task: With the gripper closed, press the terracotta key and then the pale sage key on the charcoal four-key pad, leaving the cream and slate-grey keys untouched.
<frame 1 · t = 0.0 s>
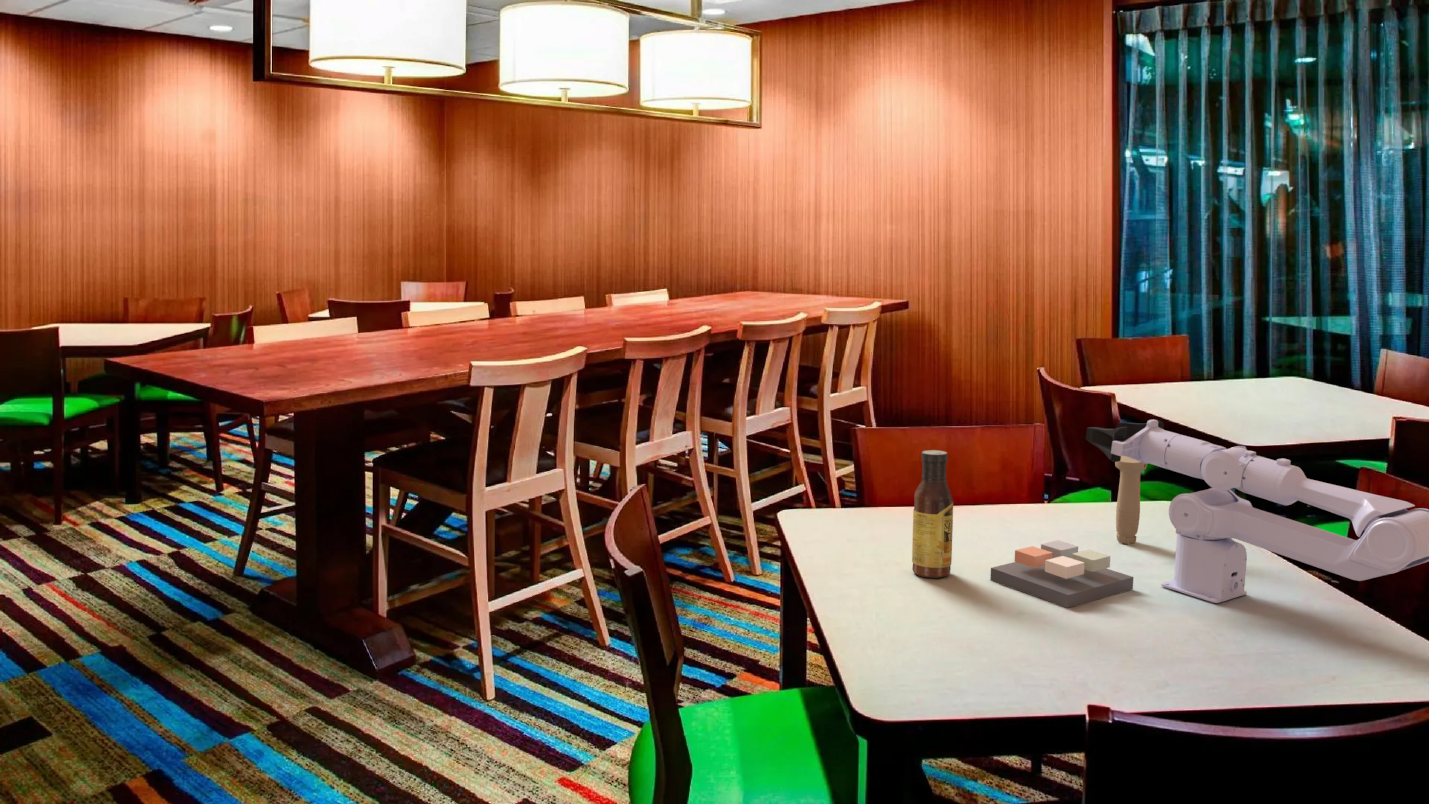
hand: (1102, 431, 177), 22 cm above the table, tool horizontal, fingers open, 7 cm apart
keypad base: (1060, 584, 167), on the table
key terracotta: (1033, 556, 167), point 4 cm above the table, slide at 0.0 cm
key cream: (1064, 567, 162), point 4 cm above the table, slide at 0.0 cm
sauce bottle: (931, 574, 173), on the table
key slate: (1059, 550, 170), point 4 cm above the table, slide at 0.0 cm
handle: (1126, 543, 189), on the table
key sage: (1090, 560, 165), point 4 cm above the table, slide at 0.0 cm
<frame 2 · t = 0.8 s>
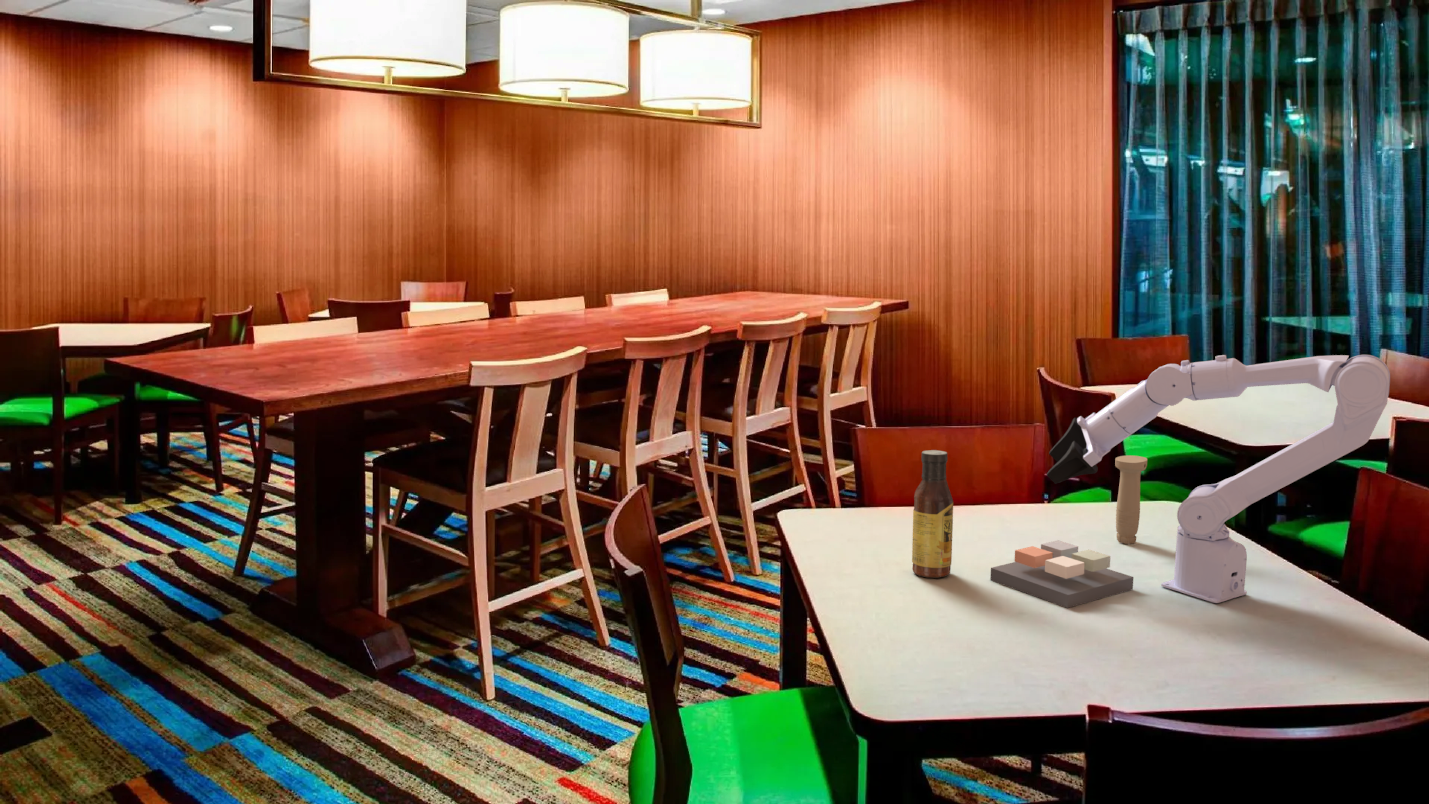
hand: (1052, 467, 175), 16 cm above the table, tool tilted 50°, fingers open, 7 cm apart
nothing on the table moved.
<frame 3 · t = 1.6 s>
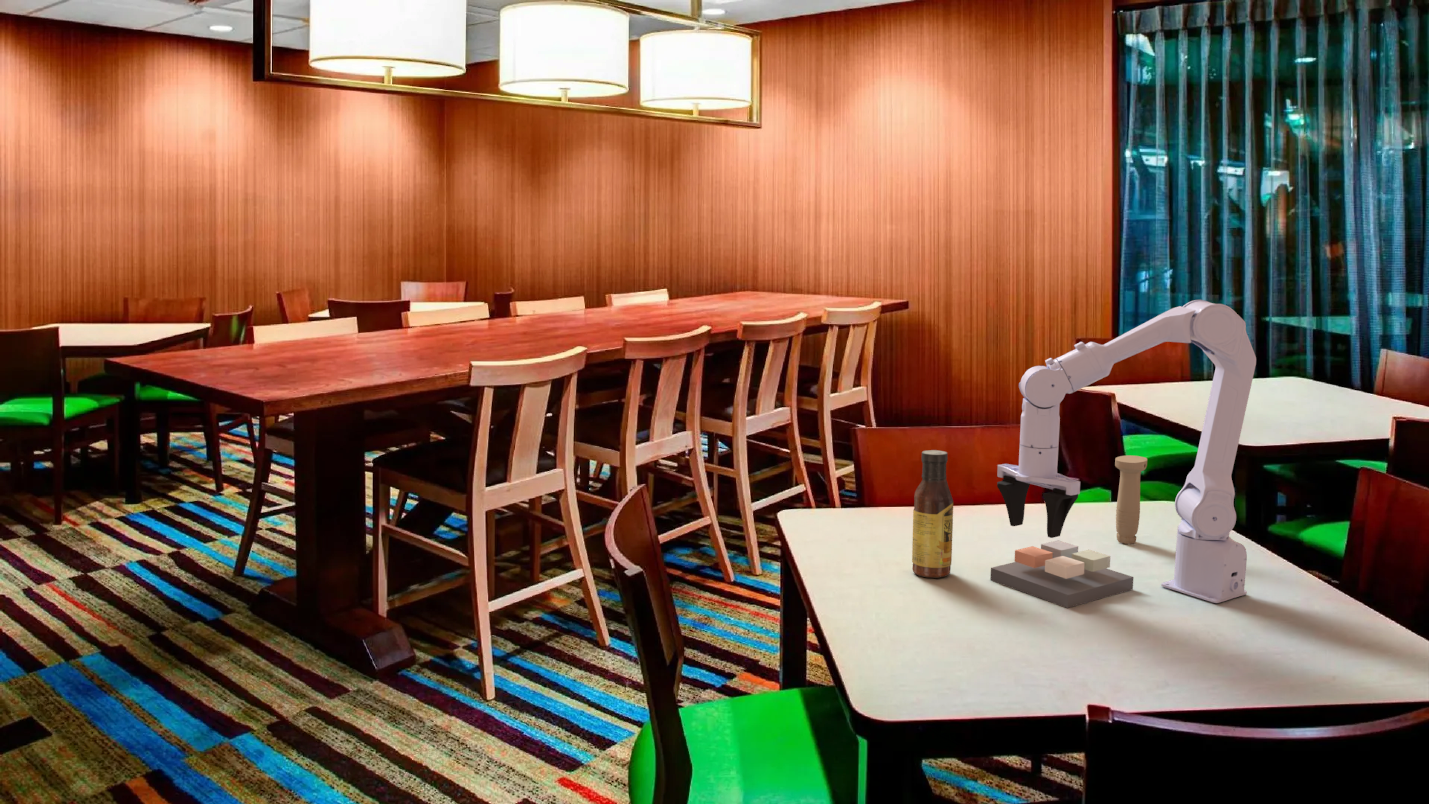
hand: (1034, 530, 167), 8 cm above the table, tool pointing down, fingers open, 7 cm apart
nothing on the table moved.
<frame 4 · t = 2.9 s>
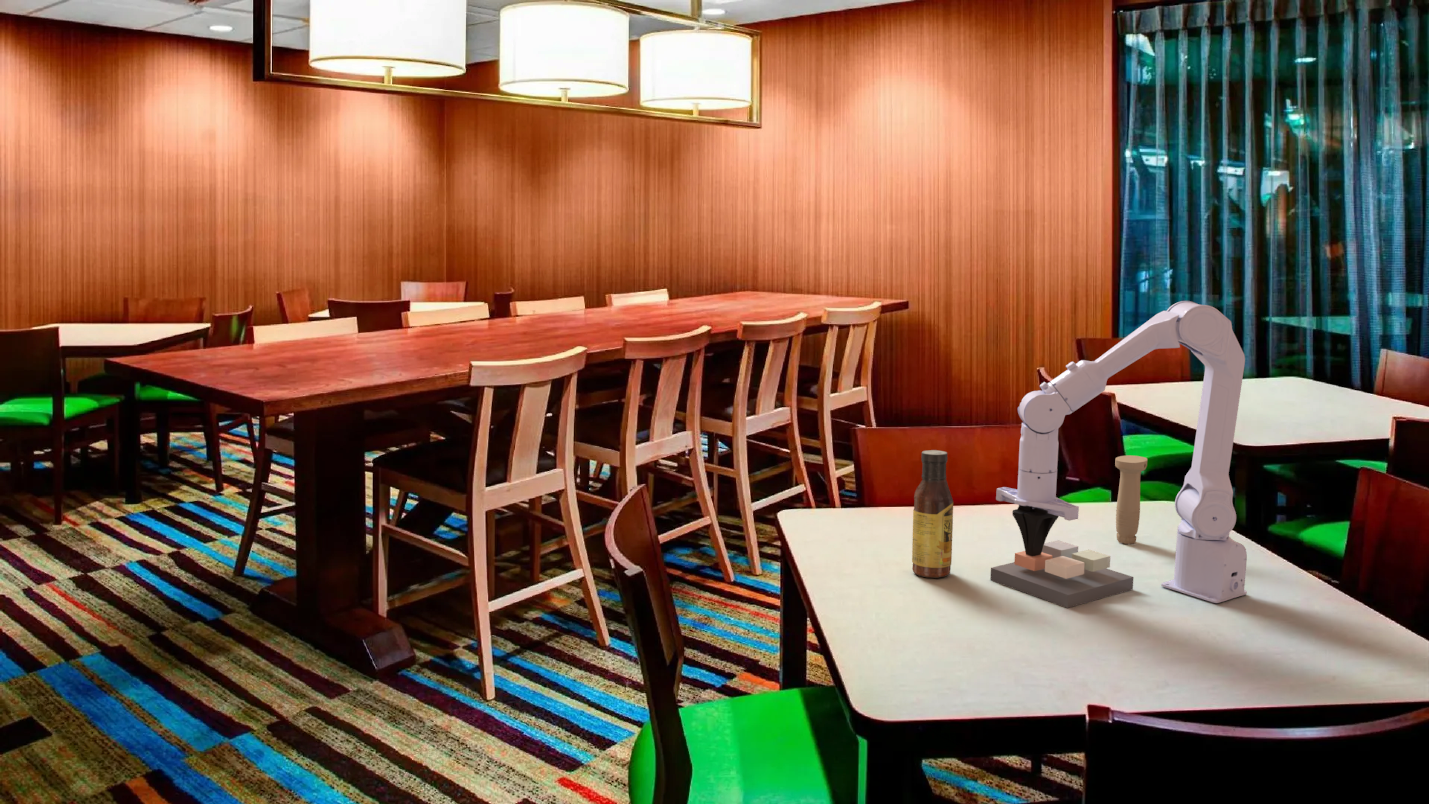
hand: (1033, 554, 167), 5 cm above the table, tool pointing down, fingers closed, pressing on key terracotta
key terracotta: (1033, 559, 167), point 4 cm above the table, slide at 0.5 cm, touching gripper
everything else where it was.
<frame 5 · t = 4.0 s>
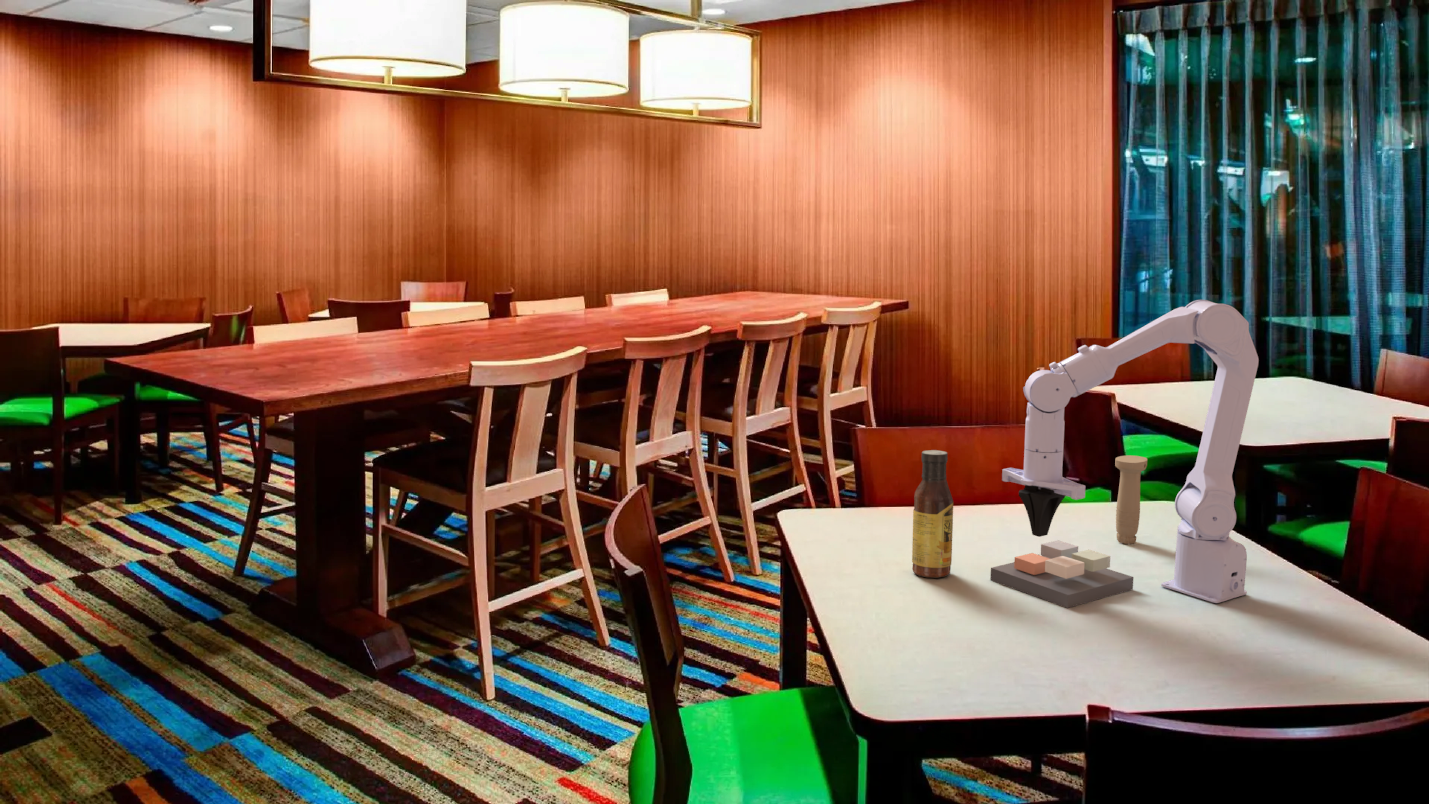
hand: (1039, 534, 167), 8 cm above the table, tool pointing down, fingers closed
key terracotta: (1033, 563, 167), point 3 cm above the table, slide at 1.1 cm
everything else where it was.
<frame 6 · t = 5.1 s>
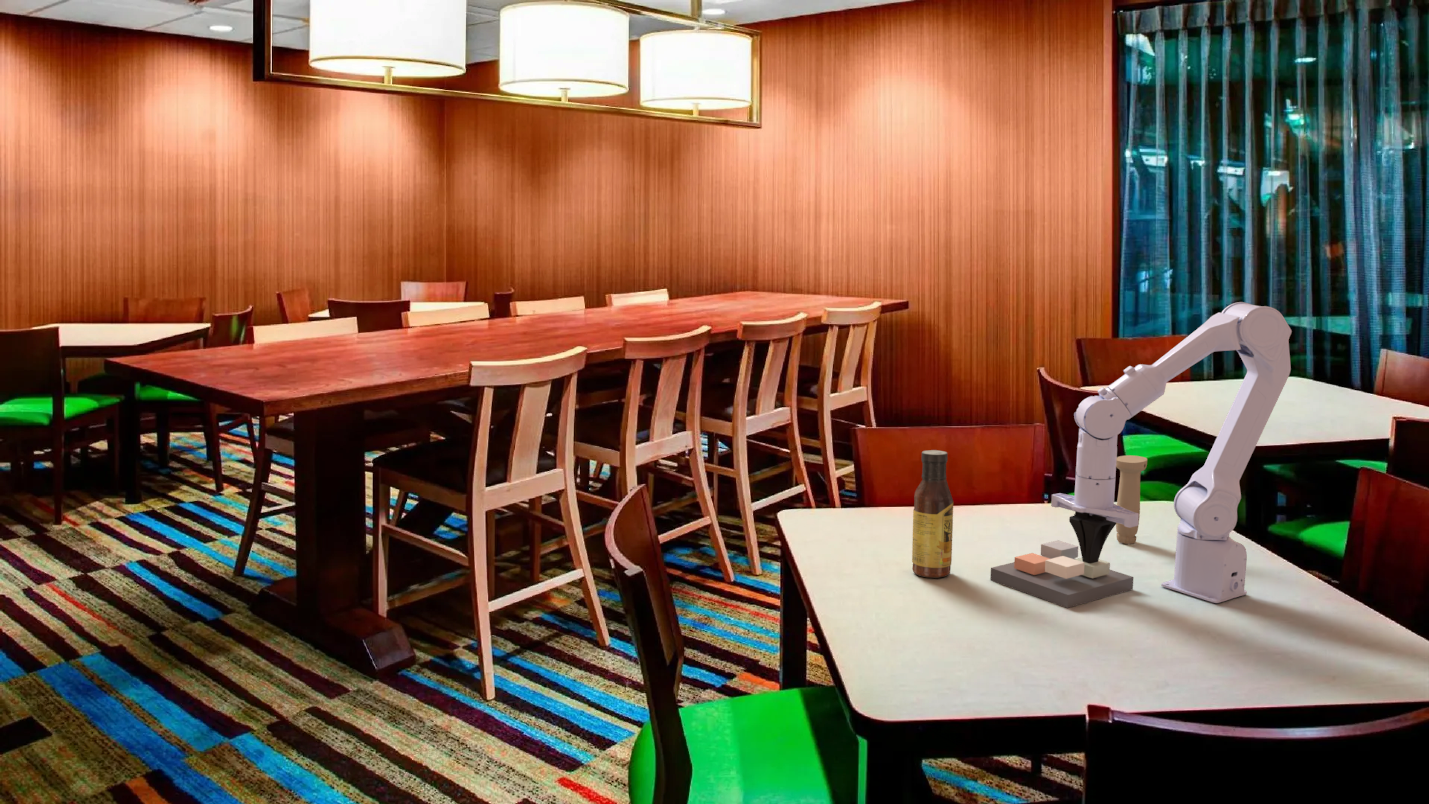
hand: (1090, 561, 166), 4 cm above the table, tool pointing down, fingers closed, pressing on key sage
key sage: (1090, 567, 166), point 3 cm above the table, slide at 1.0 cm, touching gripper
everything else where it was.
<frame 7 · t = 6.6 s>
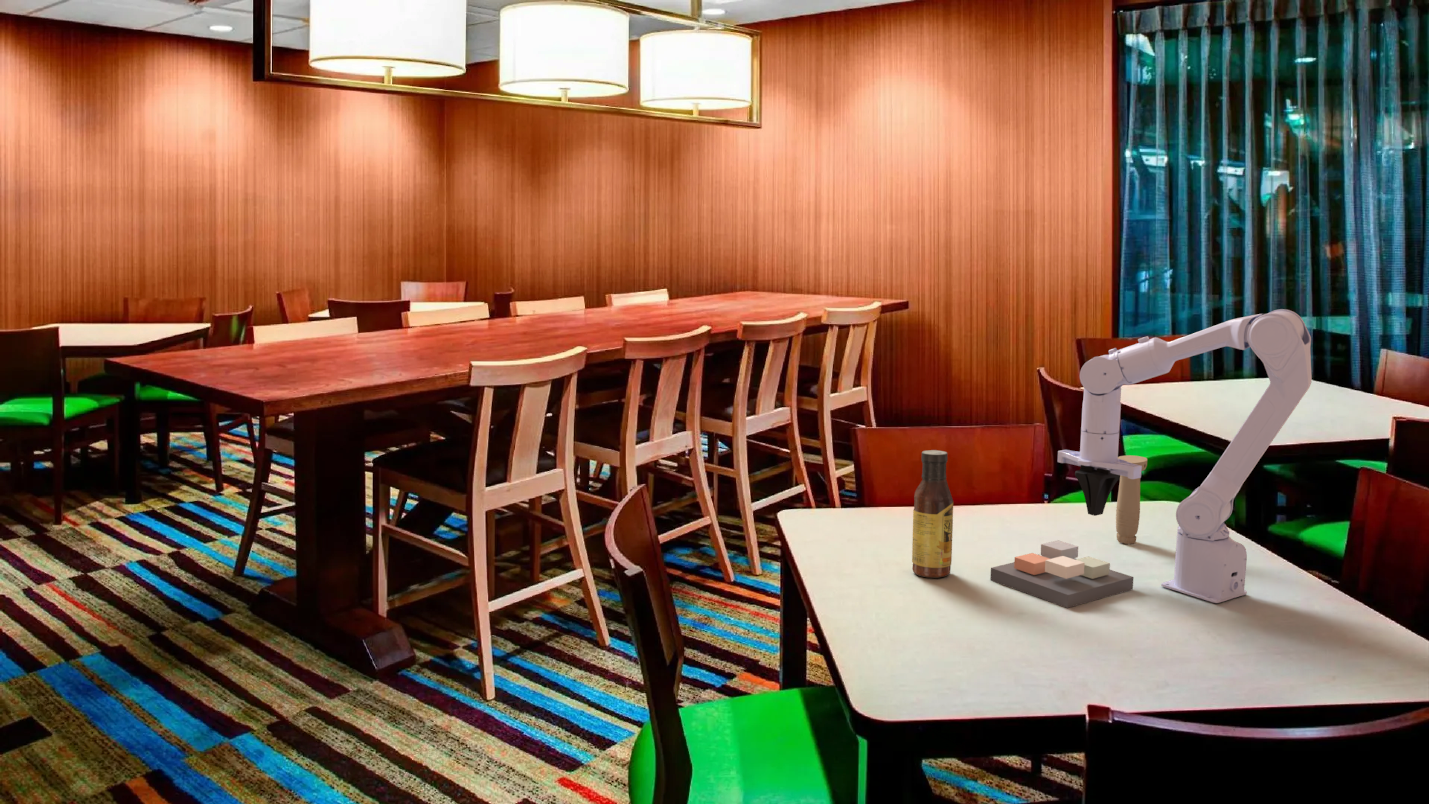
hand: (1095, 514, 172), 9 cm above the table, tool pointing down, fingers closed
key sage: (1090, 567, 166), point 3 cm above the table, slide at 1.1 cm
everything else where it was.
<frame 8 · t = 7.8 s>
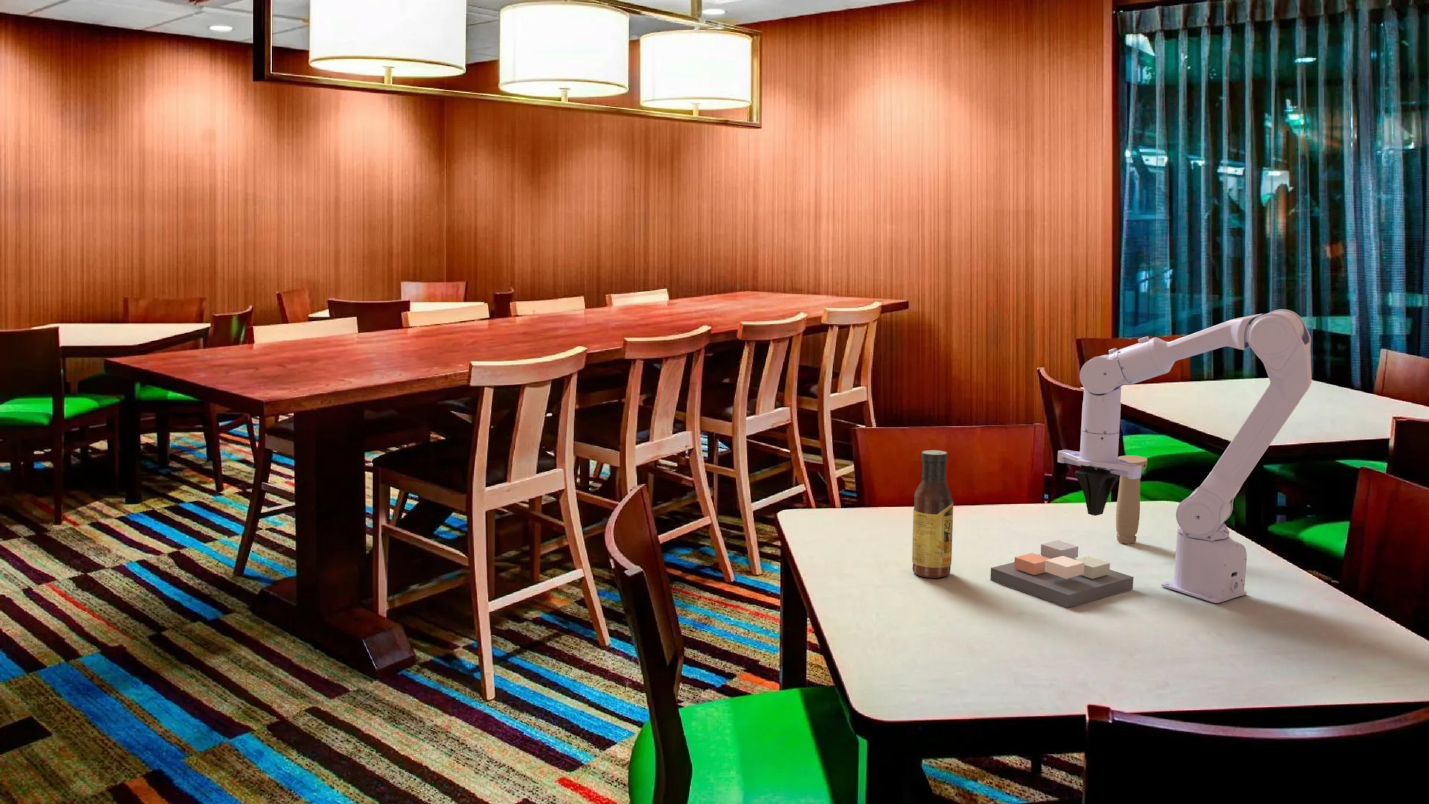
hand: (1095, 514, 173), 9 cm above the table, tool pointing down, fingers closed
nothing on the table moved.
at the end: key terracotta slide at 1.1 cm; key sage slide at 1.1 cm; key cream slide at 0.0 cm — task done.
